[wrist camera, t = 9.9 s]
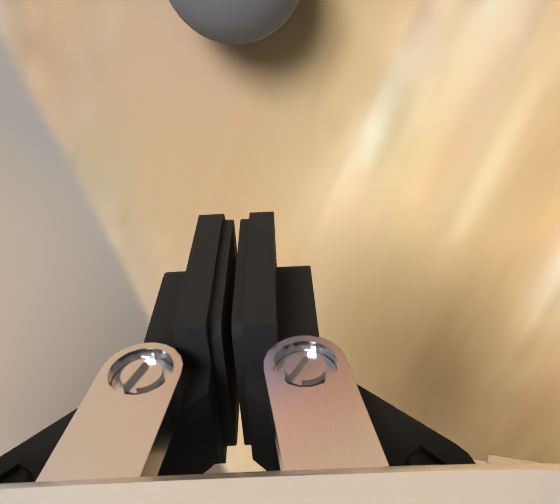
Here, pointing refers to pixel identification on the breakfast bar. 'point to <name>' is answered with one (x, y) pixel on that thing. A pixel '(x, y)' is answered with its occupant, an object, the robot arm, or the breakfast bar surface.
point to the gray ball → (235, 18)
